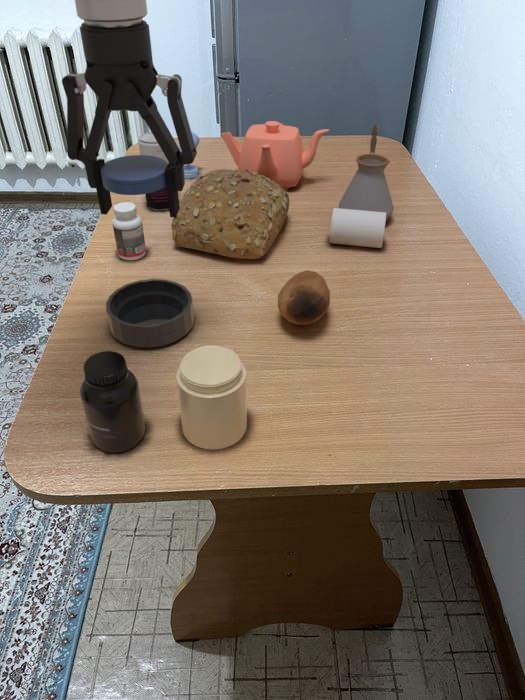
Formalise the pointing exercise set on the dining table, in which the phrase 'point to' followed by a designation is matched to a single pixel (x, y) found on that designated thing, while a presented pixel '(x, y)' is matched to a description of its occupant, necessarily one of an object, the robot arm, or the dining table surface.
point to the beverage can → (152, 148)
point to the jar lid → (134, 174)
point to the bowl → (150, 312)
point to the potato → (304, 298)
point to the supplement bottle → (112, 402)
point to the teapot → (273, 152)
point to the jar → (212, 397)
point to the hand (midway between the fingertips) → (140, 211)
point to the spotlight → (189, 168)
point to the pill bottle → (128, 232)
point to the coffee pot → (369, 183)
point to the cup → (357, 227)
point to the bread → (231, 214)
